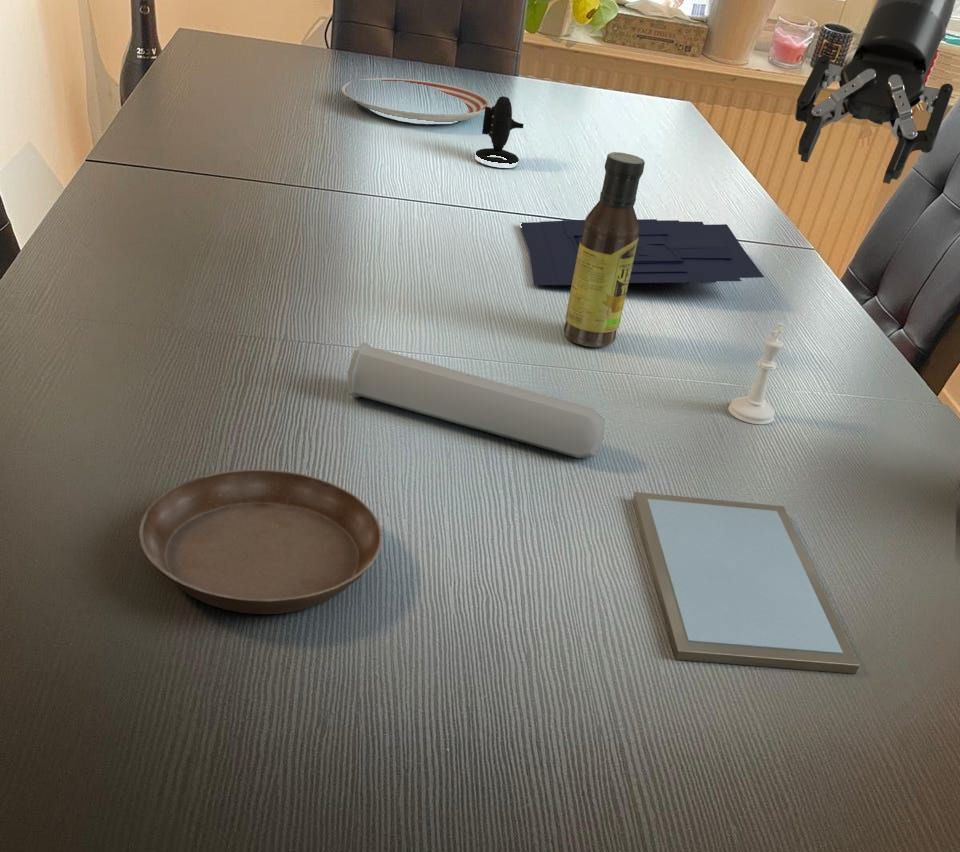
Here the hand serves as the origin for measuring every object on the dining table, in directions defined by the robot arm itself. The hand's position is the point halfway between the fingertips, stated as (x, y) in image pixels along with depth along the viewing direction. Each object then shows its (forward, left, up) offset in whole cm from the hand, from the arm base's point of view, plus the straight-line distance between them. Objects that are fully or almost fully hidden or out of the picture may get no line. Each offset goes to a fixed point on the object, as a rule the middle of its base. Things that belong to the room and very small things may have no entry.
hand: (845, 168), depth 103 cm
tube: (+35, +19, -23) cm, 46 cm away
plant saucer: (+52, +44, -23) cm, 72 cm away
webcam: (+29, -74, -23) cm, 83 cm away
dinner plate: (+43, -100, -23) cm, 111 cm away
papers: (+12, -31, -23) cm, 40 cm away
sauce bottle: (+21, -5, -23) cm, 32 cm away
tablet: (+14, +41, -23) cm, 49 cm away
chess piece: (+5, +10, -23) cm, 26 cm away
